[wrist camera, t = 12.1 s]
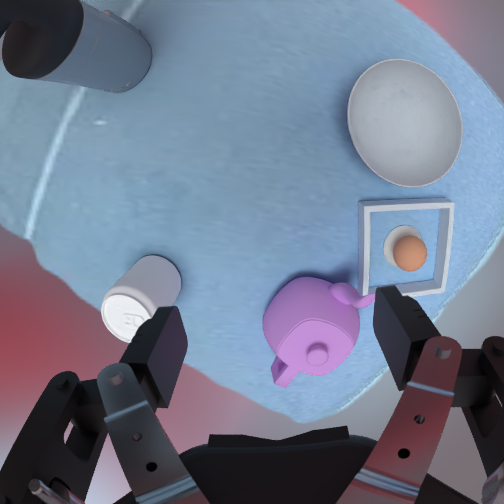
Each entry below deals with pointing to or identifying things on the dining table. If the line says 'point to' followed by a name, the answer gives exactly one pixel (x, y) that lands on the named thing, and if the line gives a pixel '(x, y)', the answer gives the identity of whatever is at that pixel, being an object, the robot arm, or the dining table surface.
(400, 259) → the ball
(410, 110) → the chinaware
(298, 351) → the teapot
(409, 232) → the disc
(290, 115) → the dining table surface
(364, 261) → the grey square frame
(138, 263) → the beverage can
